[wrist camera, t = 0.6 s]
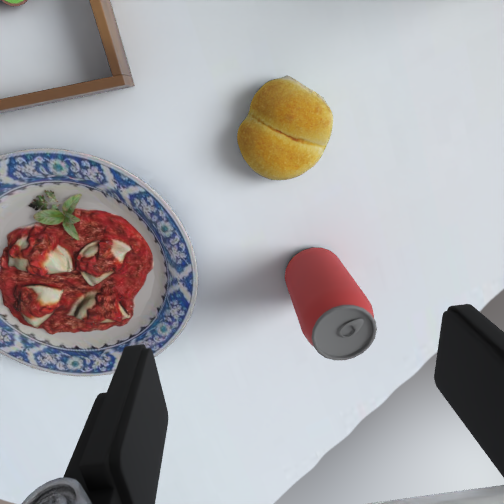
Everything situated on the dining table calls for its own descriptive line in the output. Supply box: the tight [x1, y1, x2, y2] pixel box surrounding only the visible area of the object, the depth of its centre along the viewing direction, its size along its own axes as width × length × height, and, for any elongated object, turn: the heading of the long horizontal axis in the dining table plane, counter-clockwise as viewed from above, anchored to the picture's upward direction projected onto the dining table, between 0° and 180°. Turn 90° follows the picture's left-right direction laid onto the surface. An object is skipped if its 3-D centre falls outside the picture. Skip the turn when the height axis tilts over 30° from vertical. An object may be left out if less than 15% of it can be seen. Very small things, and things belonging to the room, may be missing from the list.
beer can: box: [285, 248, 377, 360], centre depth 36 cm, size 7×7×12 cm
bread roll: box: [237, 76, 333, 180], centre depth 34 cm, size 8×9×4 cm
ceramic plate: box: [0, 149, 198, 376], centre depth 38 cm, size 26×26×3 cm
